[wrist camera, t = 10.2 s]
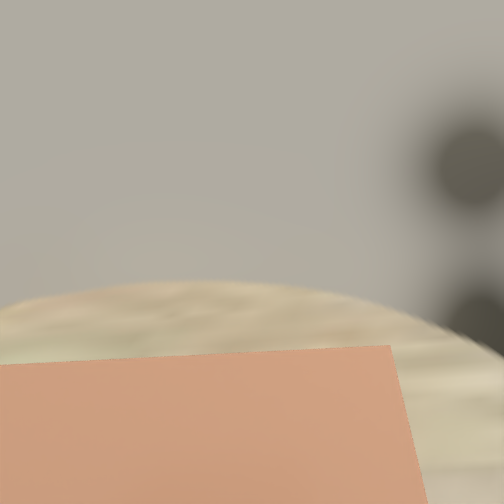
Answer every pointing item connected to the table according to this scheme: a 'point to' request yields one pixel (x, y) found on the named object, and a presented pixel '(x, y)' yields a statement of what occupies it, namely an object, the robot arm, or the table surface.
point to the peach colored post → (209, 430)
